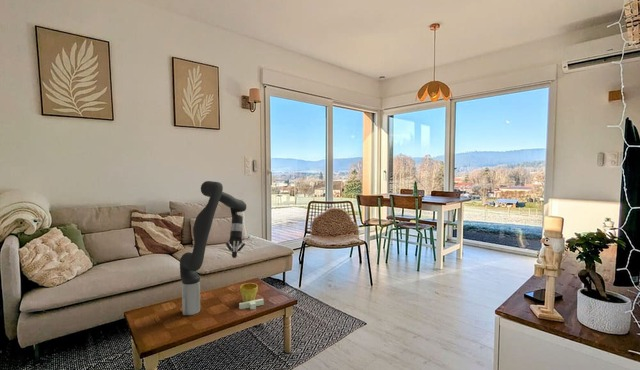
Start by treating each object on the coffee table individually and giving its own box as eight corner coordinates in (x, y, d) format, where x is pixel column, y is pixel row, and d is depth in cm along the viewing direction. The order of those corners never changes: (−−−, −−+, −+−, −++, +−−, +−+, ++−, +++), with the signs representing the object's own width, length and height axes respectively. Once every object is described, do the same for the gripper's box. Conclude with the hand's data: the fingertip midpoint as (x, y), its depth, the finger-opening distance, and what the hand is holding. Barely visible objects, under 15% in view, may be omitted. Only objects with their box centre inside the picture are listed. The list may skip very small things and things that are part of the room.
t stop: (241, 311, 174) (241, 306, 173) (239, 308, 178) (239, 302, 178) (265, 306, 180) (265, 301, 180) (262, 303, 184) (262, 298, 184)
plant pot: (255, 305, 181) (255, 289, 181) (237, 305, 181) (237, 289, 181) (259, 298, 191) (259, 282, 191) (242, 297, 192) (242, 282, 191)
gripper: (227, 229, 197) (225, 257, 192) (247, 231, 203) (246, 257, 198) (224, 231, 203) (222, 257, 198) (244, 232, 210) (242, 258, 204)
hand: (234, 257), depth 198 cm, fingers closed
